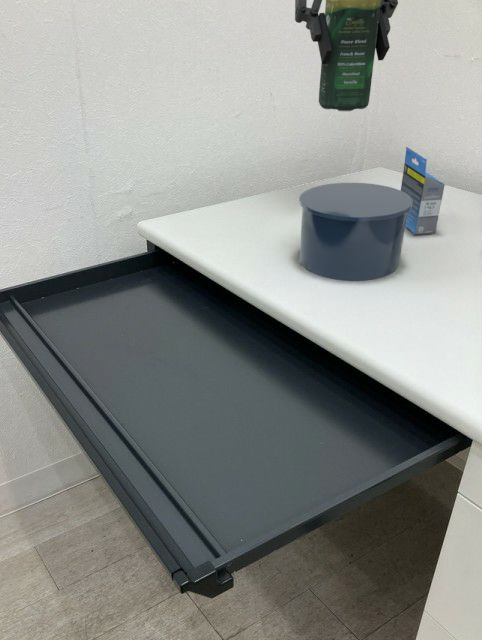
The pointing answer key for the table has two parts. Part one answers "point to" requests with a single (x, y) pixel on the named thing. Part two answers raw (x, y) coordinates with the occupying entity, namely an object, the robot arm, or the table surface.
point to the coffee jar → (349, 54)
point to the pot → (352, 230)
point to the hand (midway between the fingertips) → (355, 55)
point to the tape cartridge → (421, 195)
